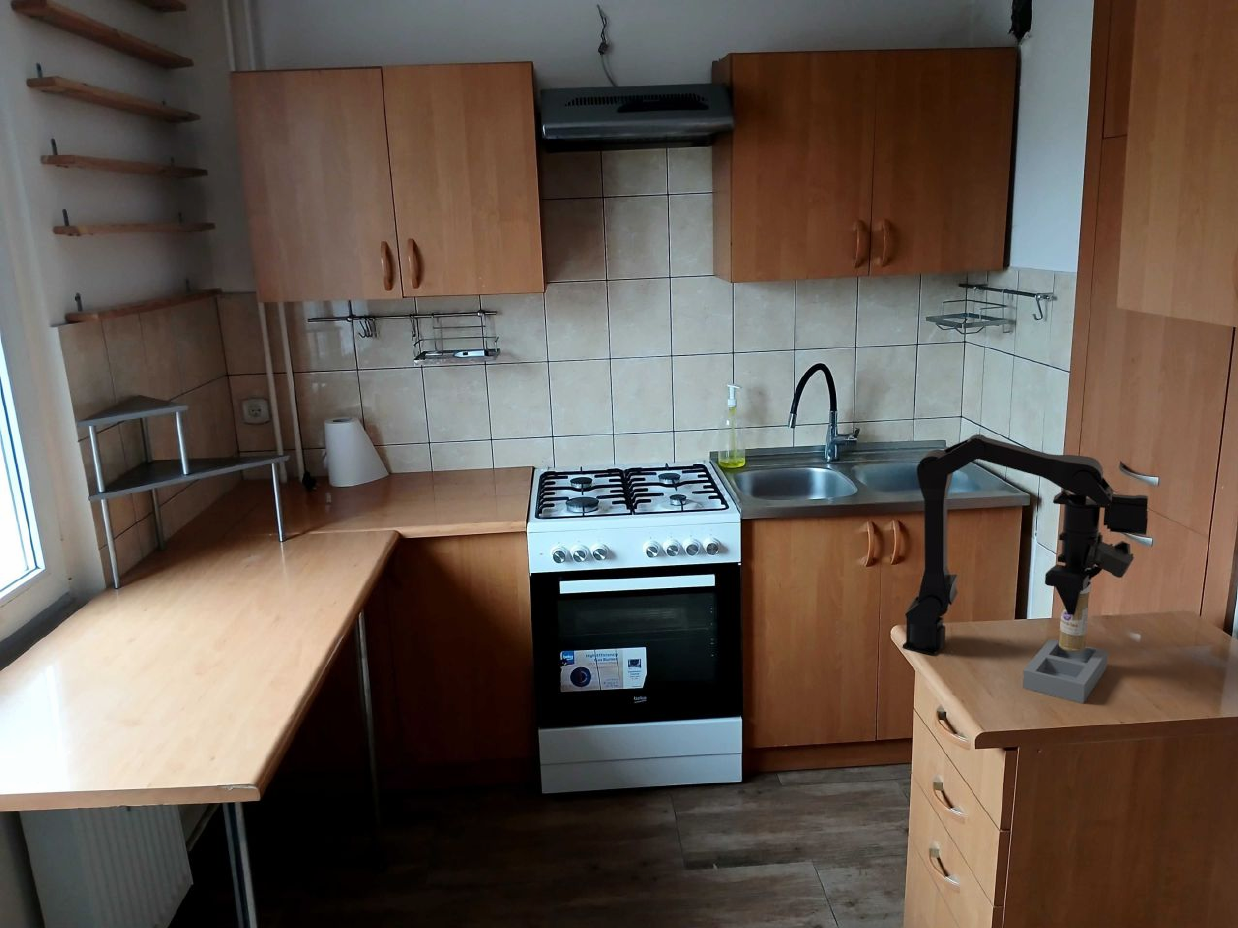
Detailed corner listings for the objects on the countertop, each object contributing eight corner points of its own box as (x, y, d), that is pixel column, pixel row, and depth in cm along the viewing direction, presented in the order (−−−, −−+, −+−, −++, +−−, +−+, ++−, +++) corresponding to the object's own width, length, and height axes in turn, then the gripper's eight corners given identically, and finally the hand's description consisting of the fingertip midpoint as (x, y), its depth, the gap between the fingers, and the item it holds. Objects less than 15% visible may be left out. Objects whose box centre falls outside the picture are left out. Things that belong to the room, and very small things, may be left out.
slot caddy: (1022, 687, 165) (1023, 670, 164) (1049, 655, 177) (1050, 638, 176) (1083, 703, 159) (1084, 684, 158) (1106, 668, 171) (1107, 650, 170)
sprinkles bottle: (1054, 648, 170) (1058, 579, 167) (1064, 640, 173) (1069, 573, 170) (1079, 655, 167) (1084, 585, 163) (1090, 647, 170) (1095, 578, 166)
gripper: (1118, 551, 152) (1110, 638, 156) (1143, 521, 166) (1135, 602, 170) (1046, 539, 159) (1041, 623, 163) (1076, 512, 173) (1070, 590, 177)
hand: (1074, 609), depth 168 cm, fingers closed on sprinkles bottle, 4 cm apart
